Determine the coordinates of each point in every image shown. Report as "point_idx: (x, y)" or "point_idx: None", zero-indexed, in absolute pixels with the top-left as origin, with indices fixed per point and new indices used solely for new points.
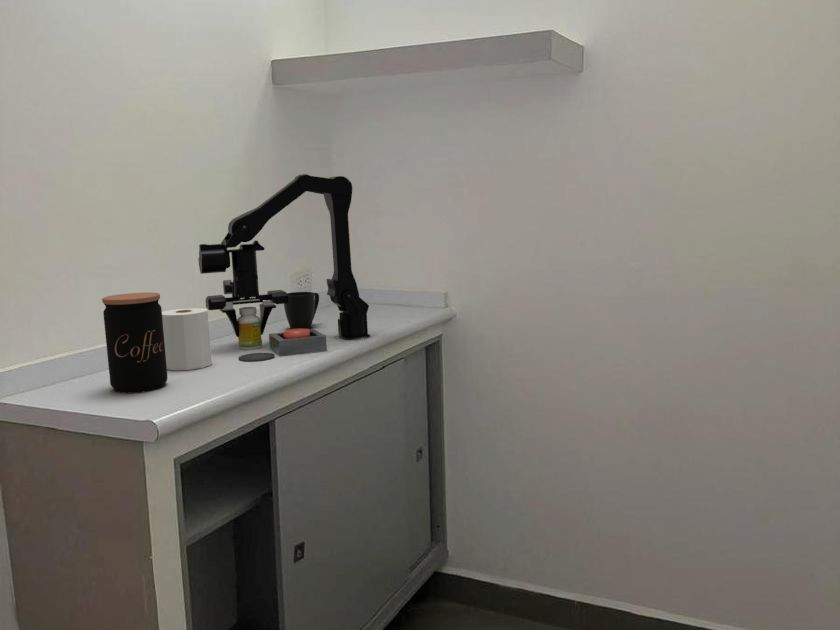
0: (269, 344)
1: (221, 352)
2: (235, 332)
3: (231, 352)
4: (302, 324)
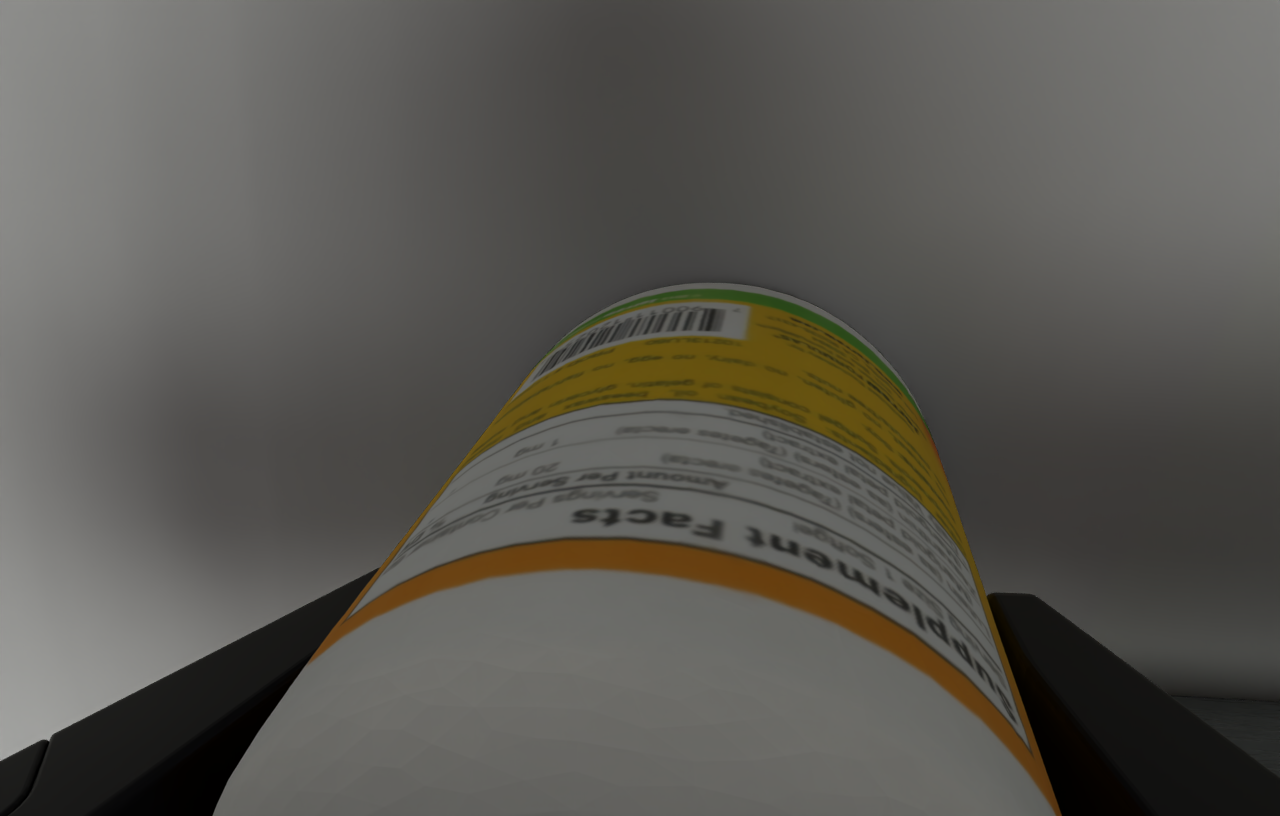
0: None
1: (238, 551)
2: None
3: None
4: None
